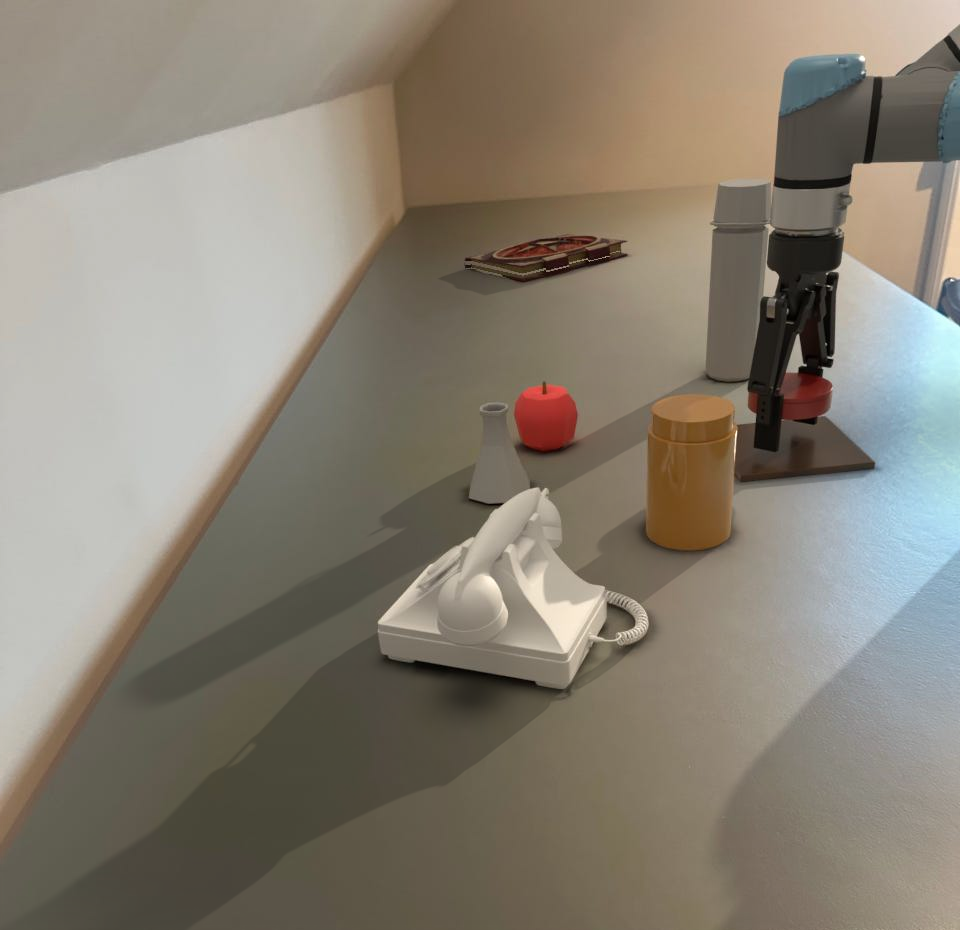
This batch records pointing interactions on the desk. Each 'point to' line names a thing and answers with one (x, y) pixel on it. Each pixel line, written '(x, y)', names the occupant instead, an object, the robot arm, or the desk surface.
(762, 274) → the water bottle
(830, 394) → the lid
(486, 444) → the flask
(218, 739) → the desk surface
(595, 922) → the desk surface
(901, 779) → the desk surface
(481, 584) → the telephone
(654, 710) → the desk surface
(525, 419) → the apple
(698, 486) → the jar
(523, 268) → the book
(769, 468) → the pad
